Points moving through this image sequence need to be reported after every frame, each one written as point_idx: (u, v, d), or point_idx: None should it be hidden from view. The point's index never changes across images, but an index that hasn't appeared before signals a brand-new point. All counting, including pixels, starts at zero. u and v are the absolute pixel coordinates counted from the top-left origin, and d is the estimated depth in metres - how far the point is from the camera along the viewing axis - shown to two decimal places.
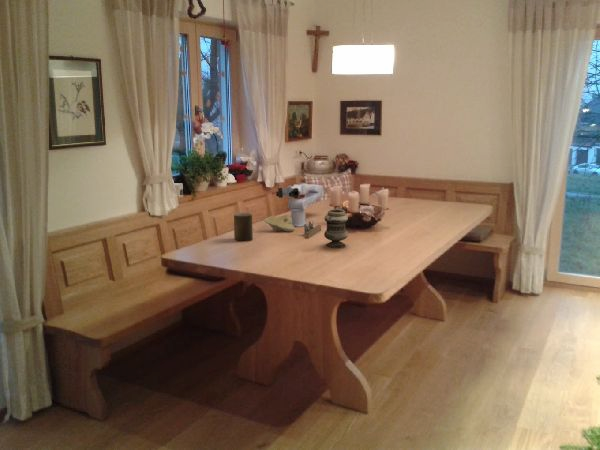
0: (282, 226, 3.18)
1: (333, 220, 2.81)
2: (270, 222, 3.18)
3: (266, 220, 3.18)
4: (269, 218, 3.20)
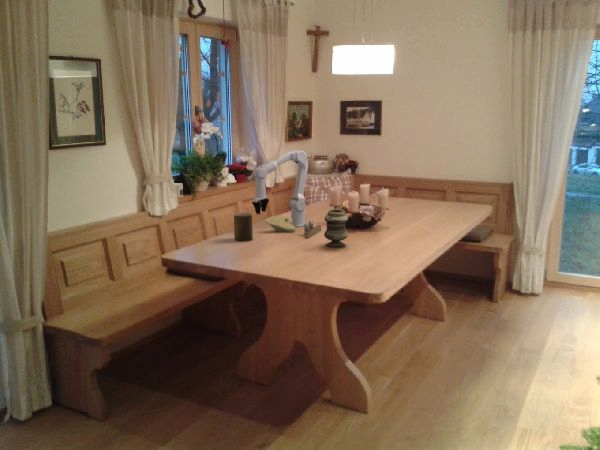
0: (283, 226, 3.17)
1: (333, 220, 2.81)
2: (271, 222, 3.17)
3: (267, 220, 3.17)
4: (270, 218, 3.19)
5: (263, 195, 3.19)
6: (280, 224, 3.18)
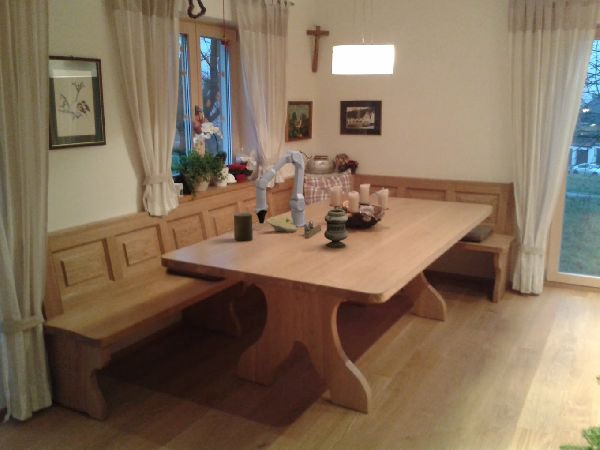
0: (285, 227, 3.17)
1: (333, 220, 2.81)
2: (273, 223, 3.16)
3: (268, 221, 3.16)
4: (271, 219, 3.17)
5: (264, 206, 3.21)
6: (281, 224, 3.17)
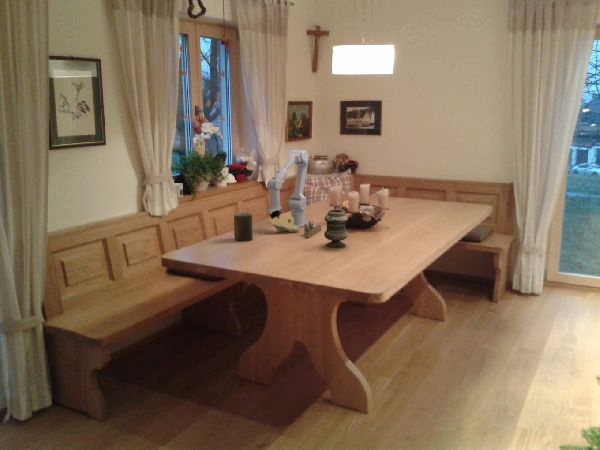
0: (288, 227, 3.15)
1: (333, 220, 2.81)
2: (276, 224, 3.14)
3: (272, 222, 3.13)
4: (274, 220, 3.15)
5: (277, 207, 3.17)
6: (284, 225, 3.15)
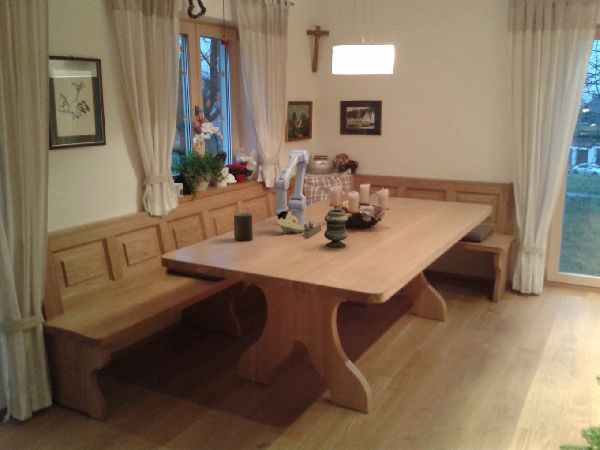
0: (294, 227, 3.14)
1: (333, 220, 2.81)
2: (283, 224, 3.11)
3: (279, 223, 3.10)
4: (280, 221, 3.12)
5: (284, 207, 3.16)
6: (291, 225, 3.14)
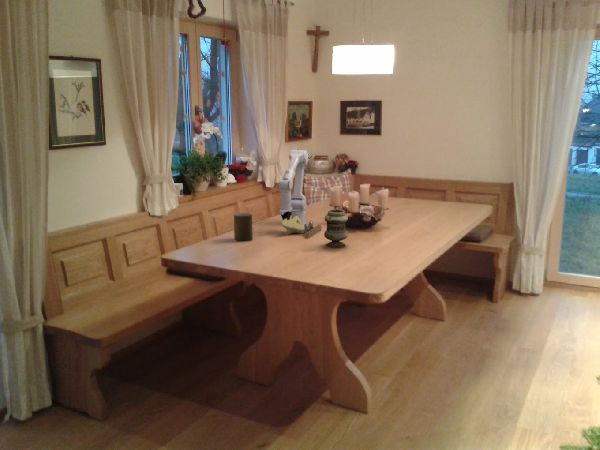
0: (299, 228, 3.13)
1: (333, 220, 2.81)
2: (288, 225, 3.10)
3: (284, 224, 3.09)
4: (285, 221, 3.11)
5: (289, 207, 3.15)
6: (295, 226, 3.13)
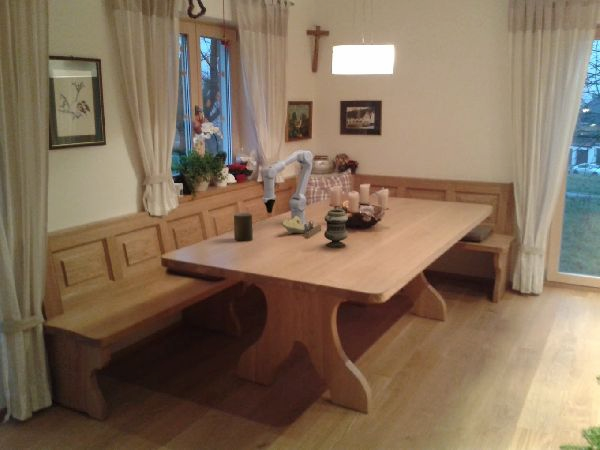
0: (299, 228, 3.13)
1: (333, 220, 2.81)
2: (288, 225, 3.09)
3: (285, 224, 3.08)
4: (286, 221, 3.10)
5: (272, 195, 3.19)
6: (296, 226, 3.12)
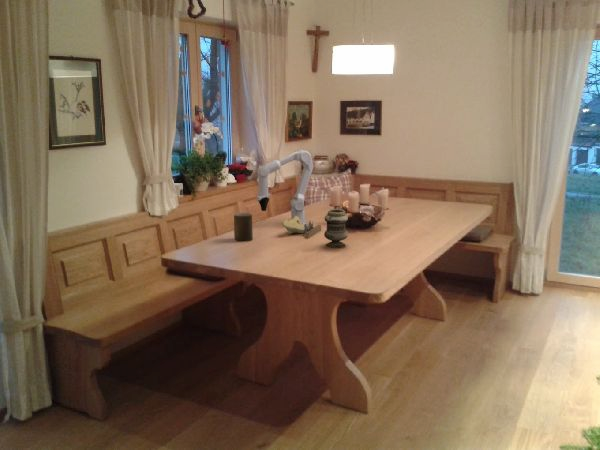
0: (300, 228, 3.13)
1: (333, 220, 2.81)
2: (289, 225, 3.09)
3: (285, 224, 3.08)
4: (286, 222, 3.10)
5: (266, 193, 3.25)
6: (296, 226, 3.12)
